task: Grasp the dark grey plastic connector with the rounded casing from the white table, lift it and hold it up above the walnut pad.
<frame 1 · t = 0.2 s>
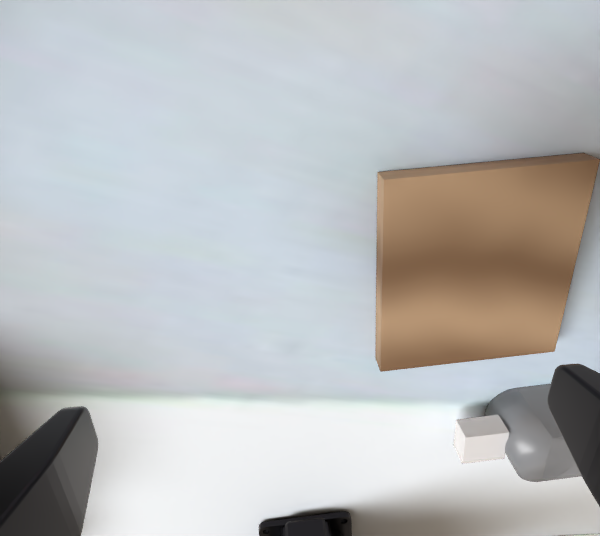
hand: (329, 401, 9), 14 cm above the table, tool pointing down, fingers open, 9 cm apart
connector: (557, 403, 30), on the table
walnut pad: (469, 265, 25), on the table
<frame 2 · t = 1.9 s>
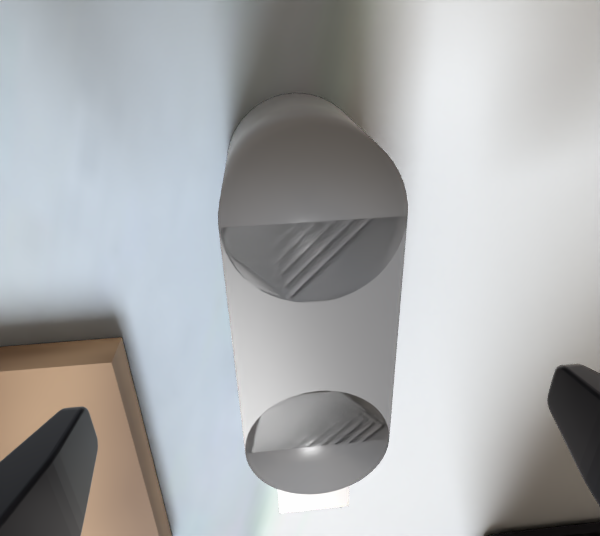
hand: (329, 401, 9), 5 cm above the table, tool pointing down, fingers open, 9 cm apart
connector: (299, 265, 14), on the table
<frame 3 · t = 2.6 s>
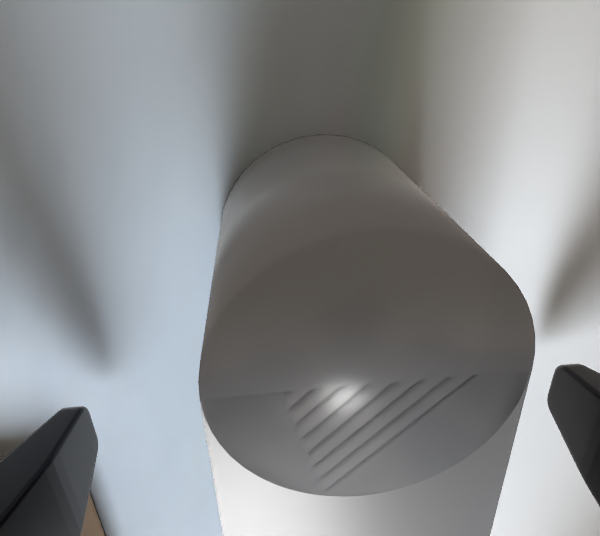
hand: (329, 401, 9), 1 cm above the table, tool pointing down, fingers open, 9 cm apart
connector: (321, 365, 10), on the table
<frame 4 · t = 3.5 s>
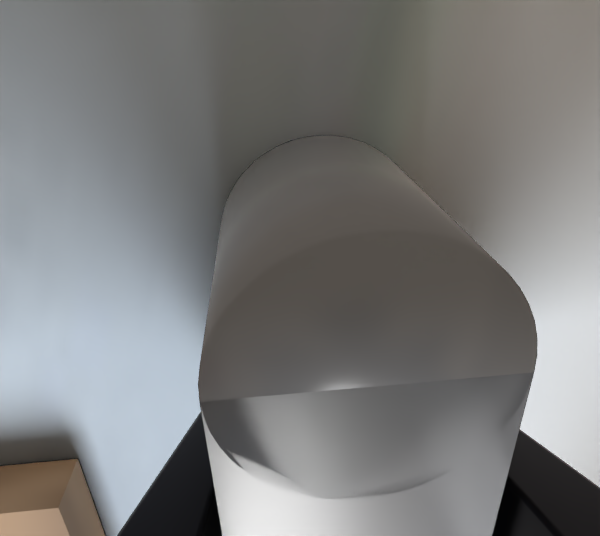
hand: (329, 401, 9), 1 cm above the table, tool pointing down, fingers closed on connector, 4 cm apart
connector: (322, 366, 10), on the table, touching gripper
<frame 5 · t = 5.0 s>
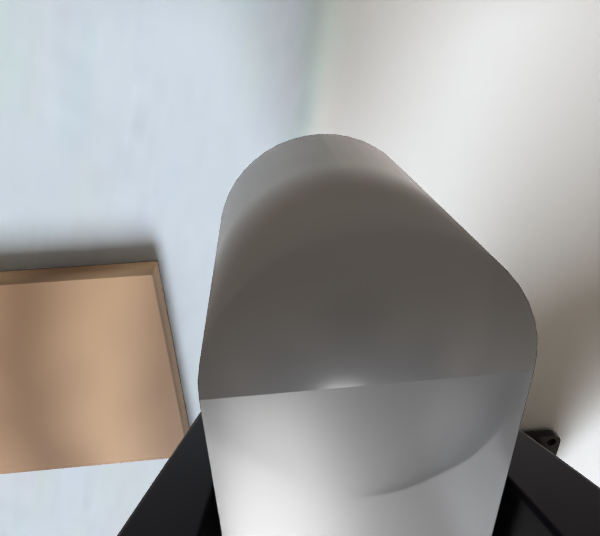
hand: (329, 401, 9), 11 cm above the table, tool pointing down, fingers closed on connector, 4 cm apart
connector: (322, 365, 10), point 10 cm above the table, touching gripper
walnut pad: (52, 368, 21), on the table
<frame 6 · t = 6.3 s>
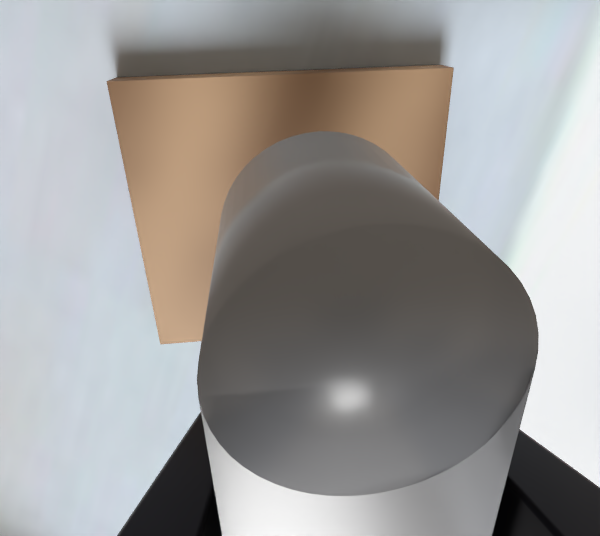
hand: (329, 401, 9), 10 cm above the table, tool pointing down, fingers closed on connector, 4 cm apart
connector: (322, 364, 10), point 9 cm above the table, touching gripper
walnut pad: (288, 210, 18), on the table
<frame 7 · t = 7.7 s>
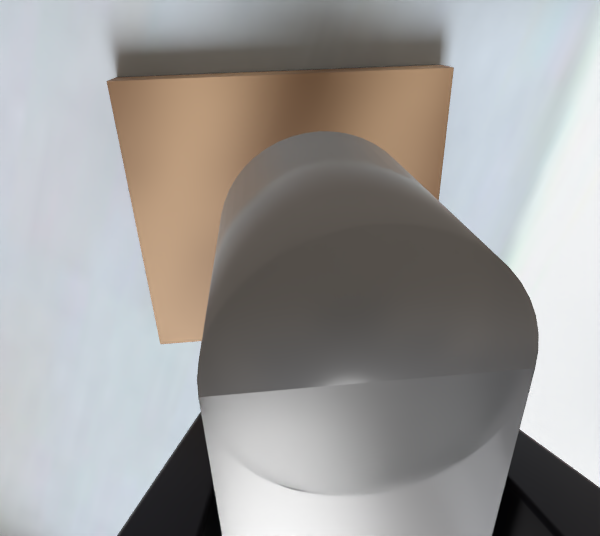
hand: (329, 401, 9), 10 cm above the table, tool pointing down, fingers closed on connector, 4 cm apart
connector: (322, 364, 10), point 9 cm above the table, touching gripper
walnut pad: (288, 209, 18), on the table
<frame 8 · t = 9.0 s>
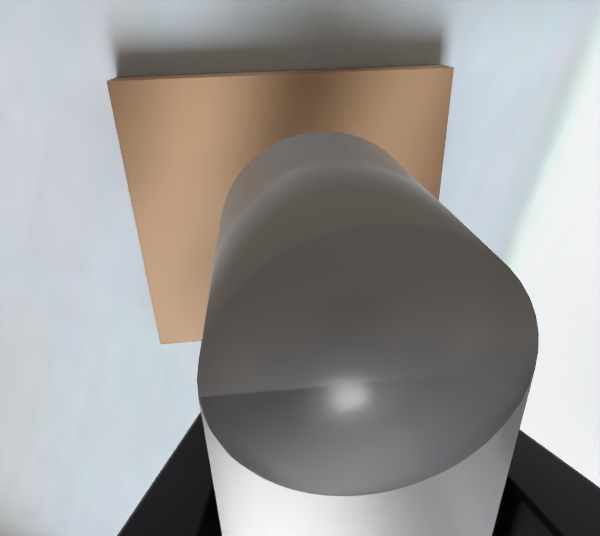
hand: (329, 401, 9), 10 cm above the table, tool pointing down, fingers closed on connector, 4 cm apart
connector: (322, 364, 10), point 9 cm above the table, touching gripper
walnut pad: (288, 209, 18), on the table
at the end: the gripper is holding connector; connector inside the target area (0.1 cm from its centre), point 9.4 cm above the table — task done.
